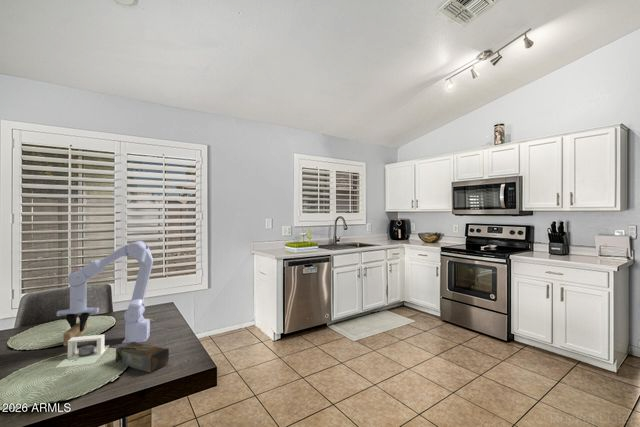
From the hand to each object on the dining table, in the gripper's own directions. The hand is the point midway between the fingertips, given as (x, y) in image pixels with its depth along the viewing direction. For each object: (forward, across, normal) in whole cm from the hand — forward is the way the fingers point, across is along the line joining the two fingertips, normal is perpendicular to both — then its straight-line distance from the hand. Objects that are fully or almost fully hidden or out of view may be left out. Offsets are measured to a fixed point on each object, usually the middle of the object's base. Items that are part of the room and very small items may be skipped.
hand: (78, 331), depth 133 cm
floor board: (+6, -7, +13) cm, 16 cm away
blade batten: (+2, 0, +2) cm, 3 cm away
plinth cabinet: (+6, -7, +12) cm, 15 cm away
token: (+6, -7, +12) cm, 15 cm away
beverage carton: (+7, -30, +26) cm, 40 cm away
